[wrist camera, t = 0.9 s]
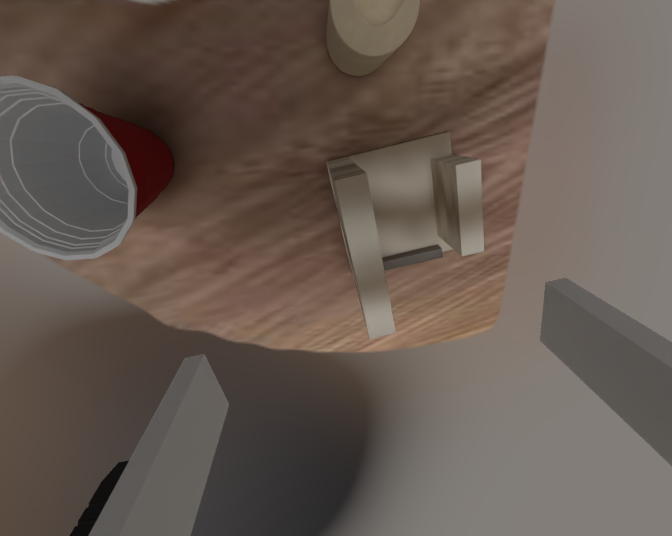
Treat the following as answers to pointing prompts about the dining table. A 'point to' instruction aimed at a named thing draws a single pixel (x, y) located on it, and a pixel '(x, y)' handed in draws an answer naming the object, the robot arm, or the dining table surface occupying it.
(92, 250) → the plastic cup
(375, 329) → the beige u-shaped bracket
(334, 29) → the candle
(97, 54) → the dining table surface
